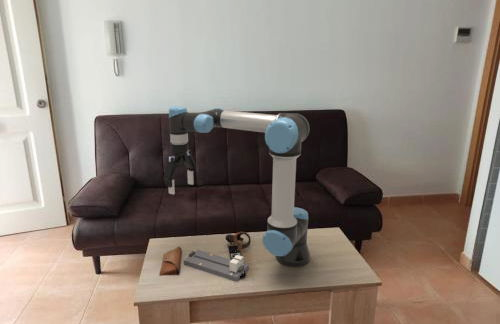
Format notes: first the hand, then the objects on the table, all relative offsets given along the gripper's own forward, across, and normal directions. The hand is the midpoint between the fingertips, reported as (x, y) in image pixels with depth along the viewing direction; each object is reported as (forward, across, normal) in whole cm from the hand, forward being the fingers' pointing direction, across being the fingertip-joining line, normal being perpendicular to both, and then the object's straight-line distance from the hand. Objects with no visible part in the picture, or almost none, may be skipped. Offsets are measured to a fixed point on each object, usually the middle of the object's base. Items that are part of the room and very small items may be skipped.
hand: (181, 188), depth 165 cm
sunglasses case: (+29, +16, +5) cm, 33 cm away
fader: (+26, +9, +33) cm, 43 cm away
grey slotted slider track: (+28, +9, +23) cm, 37 cm away
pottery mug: (+28, -11, +23) cm, 38 cm away
